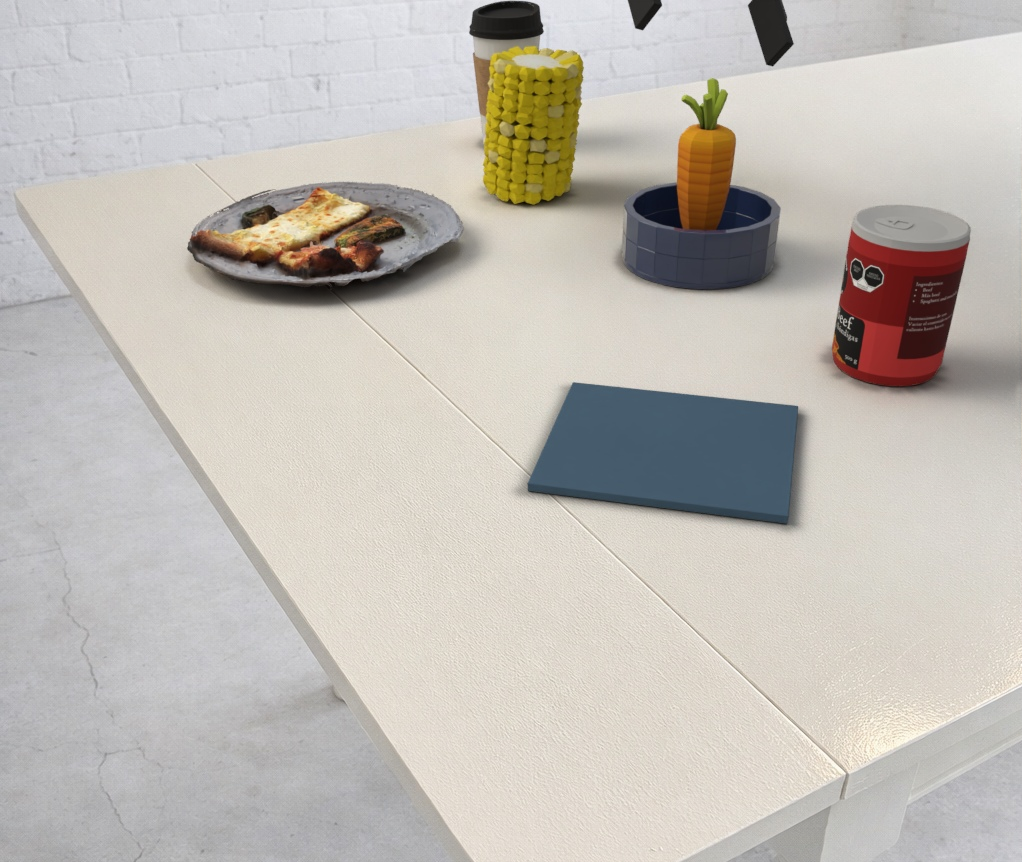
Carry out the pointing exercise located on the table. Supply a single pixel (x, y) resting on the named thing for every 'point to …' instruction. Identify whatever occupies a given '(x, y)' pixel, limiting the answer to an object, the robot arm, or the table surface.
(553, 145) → the food
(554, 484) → the blue rectangular board
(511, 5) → the coffee cup
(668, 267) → the pot
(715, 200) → the carrot
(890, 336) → the canned food
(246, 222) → the food plate
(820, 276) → the table surface
